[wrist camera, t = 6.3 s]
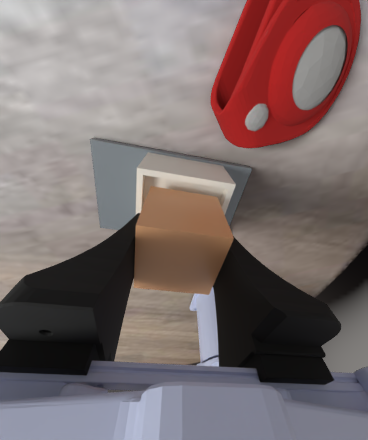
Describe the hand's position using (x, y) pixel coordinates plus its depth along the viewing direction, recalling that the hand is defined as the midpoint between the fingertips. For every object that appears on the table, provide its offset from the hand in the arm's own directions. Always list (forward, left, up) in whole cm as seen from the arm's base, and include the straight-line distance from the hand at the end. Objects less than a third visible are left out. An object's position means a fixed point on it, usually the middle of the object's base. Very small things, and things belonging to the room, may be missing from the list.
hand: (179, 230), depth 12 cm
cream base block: (0, 0, -6) cm, 6 cm away
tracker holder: (-5, -12, -7) cm, 15 cm away
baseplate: (+1, +1, -7) cm, 7 cm away
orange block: (0, 0, -2) cm, 2 cm away
